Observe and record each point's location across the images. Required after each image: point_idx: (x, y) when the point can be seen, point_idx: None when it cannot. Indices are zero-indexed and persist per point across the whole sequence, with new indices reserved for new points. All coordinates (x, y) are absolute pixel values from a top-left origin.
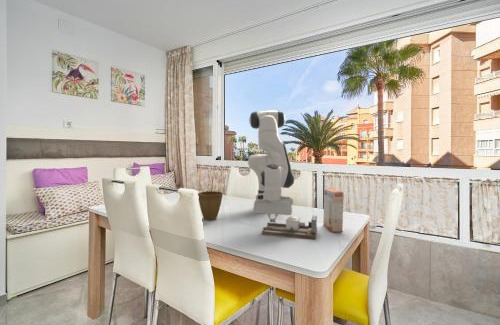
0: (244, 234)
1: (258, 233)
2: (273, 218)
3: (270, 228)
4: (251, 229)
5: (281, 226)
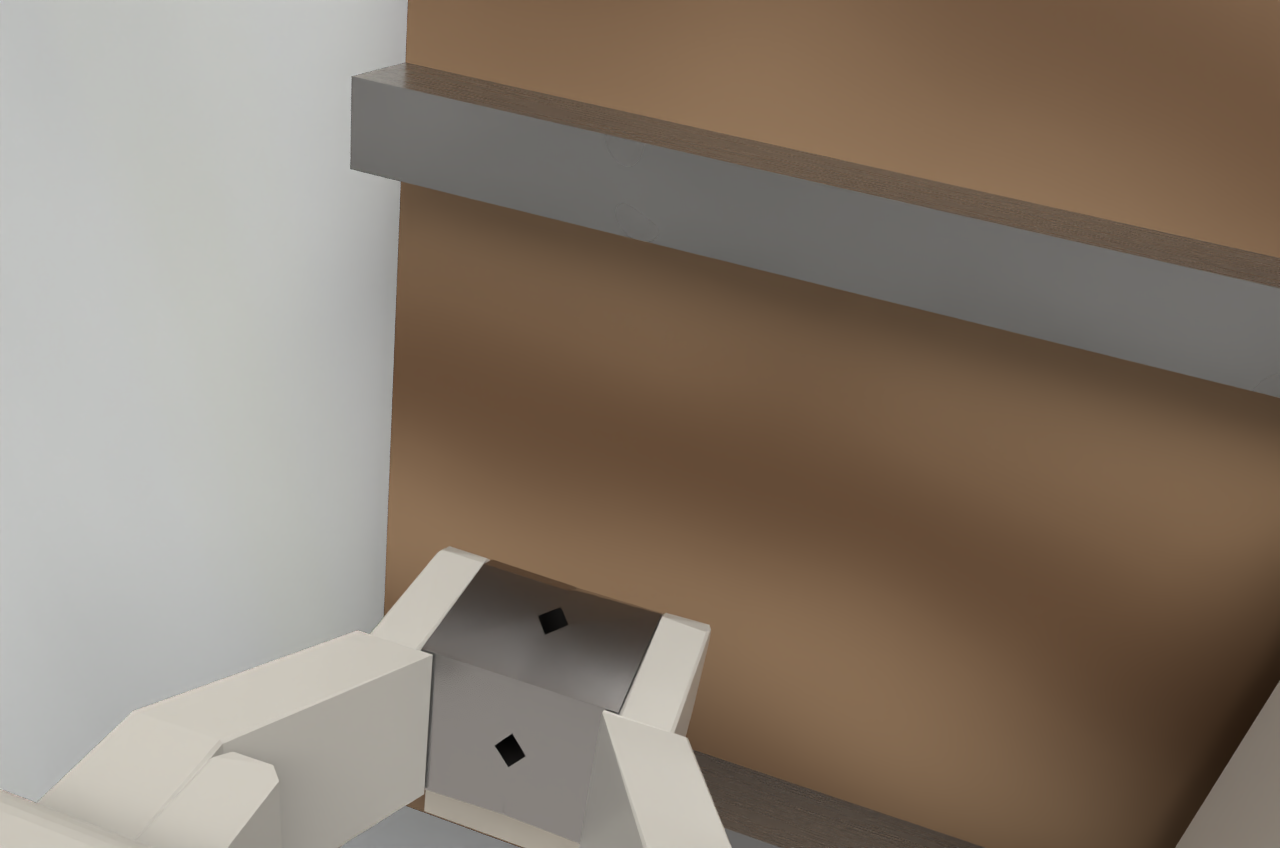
0: (61, 703)
1: None
2: (544, 717)
3: None
4: (44, 339)
5: None
